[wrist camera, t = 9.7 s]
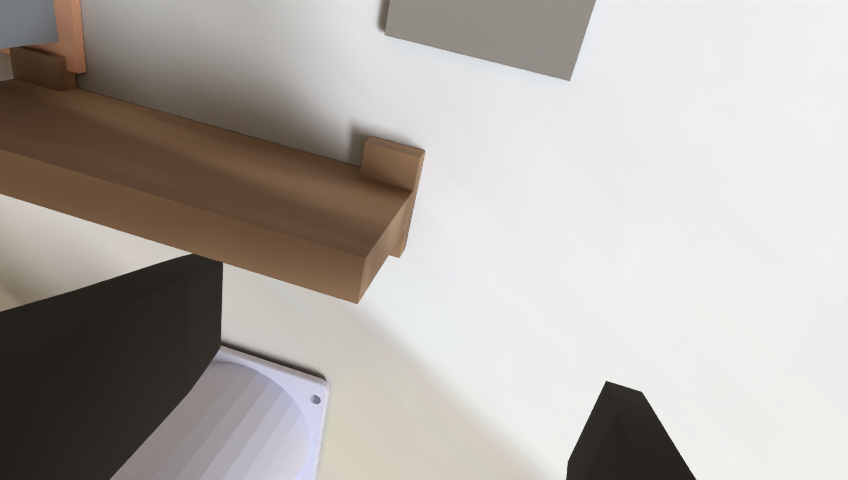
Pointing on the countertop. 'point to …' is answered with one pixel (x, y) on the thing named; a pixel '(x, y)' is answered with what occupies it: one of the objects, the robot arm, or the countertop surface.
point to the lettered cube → (27, 23)
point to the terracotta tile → (66, 36)
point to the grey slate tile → (498, 30)
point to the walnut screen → (203, 182)
